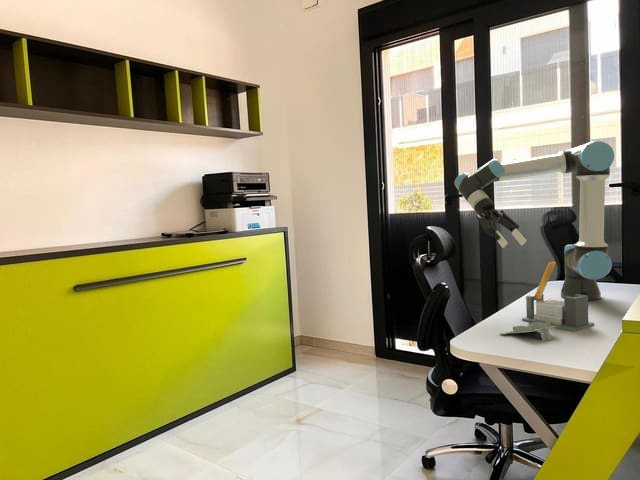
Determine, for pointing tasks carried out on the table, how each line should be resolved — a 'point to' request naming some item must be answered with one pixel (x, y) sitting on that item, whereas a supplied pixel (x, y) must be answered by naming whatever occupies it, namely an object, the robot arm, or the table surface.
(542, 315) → the heat sink
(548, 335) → the metal bracket
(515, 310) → the table surface
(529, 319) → the grey green railed plate
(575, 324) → the slotted lug
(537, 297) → the strap
